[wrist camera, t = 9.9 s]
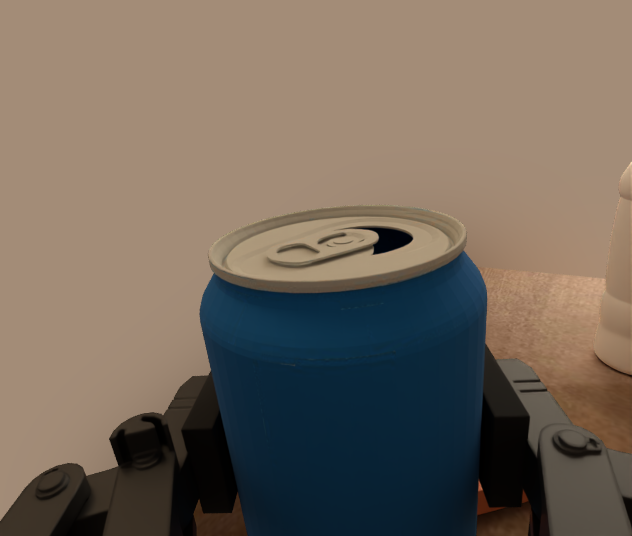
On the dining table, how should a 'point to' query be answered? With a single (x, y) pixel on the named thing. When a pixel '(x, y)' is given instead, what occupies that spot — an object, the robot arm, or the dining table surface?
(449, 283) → the beverage can
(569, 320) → the dining table surface
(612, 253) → the water bottle
